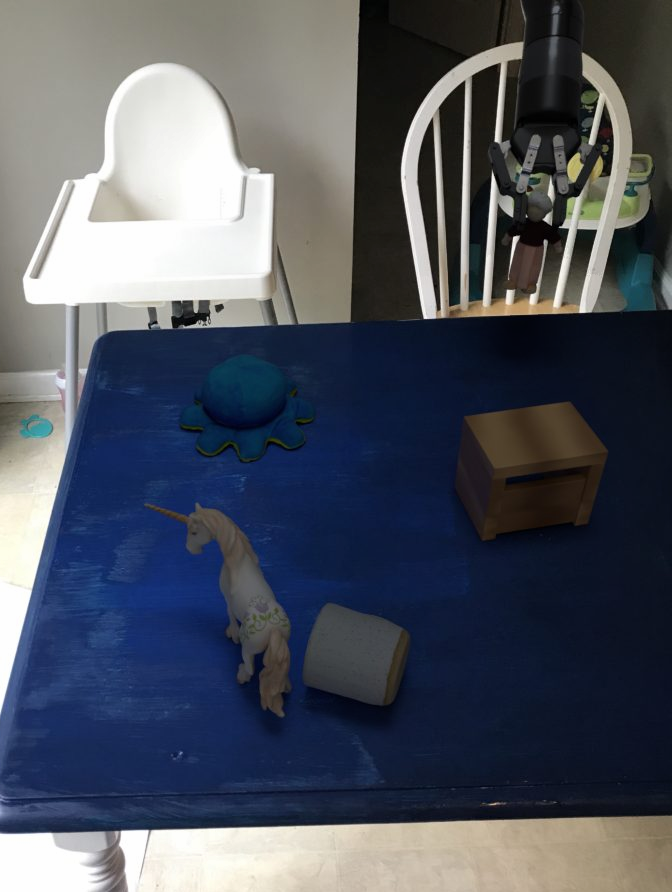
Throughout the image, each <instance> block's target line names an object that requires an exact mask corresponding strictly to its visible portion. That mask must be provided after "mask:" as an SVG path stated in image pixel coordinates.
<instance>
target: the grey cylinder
mask: <svg viewBox="0 0 672 892" xmlns="http://www.w3.org/2000/svg"><path fill="white" fill-rule="evenodd" d="M410 647H411V635H410V633H409V632H408V631H407V629H404V628H403V627H402V626H399V625H398V624H395V623H394V622H392V621H390V620H388V619H385V618H383V617H380V616H378V615H373V614H368V613H363V612H359V611H357V610H354V609H351V608H348V607H346V606H342V605H339V604H336V603H332V602H327V603H325V605H323V607H322V608H321V610H320V611H319V613H318V615H317V617H316V619H315V622H314V624H313V627H312V629H311V632H310V635H309V638H308V642H307V646H306V651H305V654H304V658H303V666H302V683H303V684H304V685H305V686H307V687H310V688H313V689H317V690H320V691H324V692H327V693H331V694H334V695H338V696H341V697H345V698H348V699H349V698H350V699H353V700H355V701H359V702H362V703H365V704H368V705H373V706H389V705H391V704H392V703H393V702H394V701H395V699H396V696H397V694H398V692H399V688H400V685H401V682H402V678H403V677H404V676H403V675H404V672H405V668H406V665H407V660H408V657H409V651H410Z"/></svg>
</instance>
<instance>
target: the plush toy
mask: <svg viewBox="0 0 672 892" xmlns="http://www.w3.org/2000/svg"><path fill="white" fill-rule="evenodd" d="M297 392H298V386H297V384H296V382H294V381H293V380H291V379H289V378H287V377H286V375H285V373H284V371H283V370H282V369H281V368H280V367H279V366H277V364H274V363H272V362H269V361H267V360H264V359H261V358H259V357H256V356H255V355H250V354H244V353H241V354H239V355H233V356H231V357H230V358H227V359H225V360H224V361H223V362H221V363H219V364H217V365H216V366H214V367H212V368H211V369H210V370H209V371H208V372H207V374H206V376H205V377H204V379H203V381H202V385H201V387H199V388H198V389H197V390H196V391H195V392H194V395H193V399H194V403H196V404H191V405H188V406H186V407H184V408H183V409H181V411H180V412H179V424H180V425H179V426H180V427H182V428H183V429H187V430H188V429H189V430H200V431H201V433H200V434H199V435H198V437H197V439H196V440H195V445H196V446H195V447H196V449H197V450H198V451H200V453H201V454H202V455H205V456H207V457H208V456H209V457H212V456H215V455H217V454H219V453H221V451H223V450H224V449H225V448H226V447H227V446H229V445H230V444H231V445H233V448H234V449H235V450H236V454H237V455H238V457H239V459H240V460H242V462H245V463H249V462H250V461H256V460H258V459H260V458H262V457H263V456H264V455H265V452H266V447H267V444H268V443H269V442H274V443H276V444H278V445H281V446H282V447H284V448H285V449H288V450H291V449H295V448H298V447H300V446H302V445H303V444H305V442H306V435H305V434H304V431H303V430H302V428H300V426H299V425H298V423H302V424H306V423H310V422H312V421H314V418H315V415H316V408H315V407H314V405H313V404H311V403H310V402H309V401H307V400H304V399H302V398H300V397H294V396H295V394H296V393H297ZM297 422H298V423H297Z"/></svg>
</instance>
